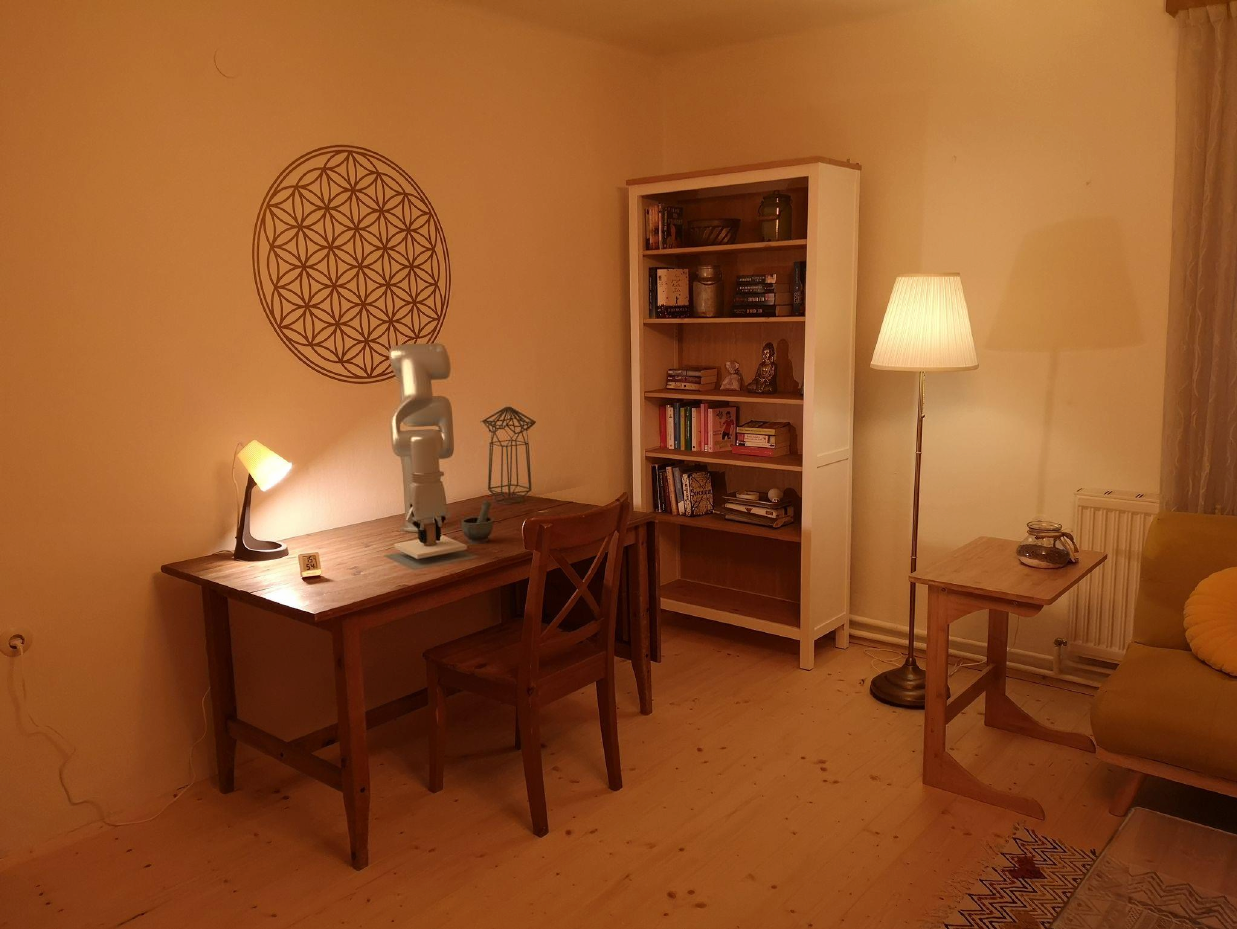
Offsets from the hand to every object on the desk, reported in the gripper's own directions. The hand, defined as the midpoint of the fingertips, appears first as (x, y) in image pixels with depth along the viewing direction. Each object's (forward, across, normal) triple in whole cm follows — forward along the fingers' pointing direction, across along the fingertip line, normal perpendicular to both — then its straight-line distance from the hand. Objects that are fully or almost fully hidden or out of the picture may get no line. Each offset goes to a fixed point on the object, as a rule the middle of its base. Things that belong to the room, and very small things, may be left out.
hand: (429, 540), depth 271 cm
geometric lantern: (+7, -59, -54) cm, 80 cm away
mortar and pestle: (+6, -20, -7) cm, 22 cm away
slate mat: (+5, 0, +1) cm, 5 cm away
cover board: (+2, 0, 0) cm, 2 cm away
